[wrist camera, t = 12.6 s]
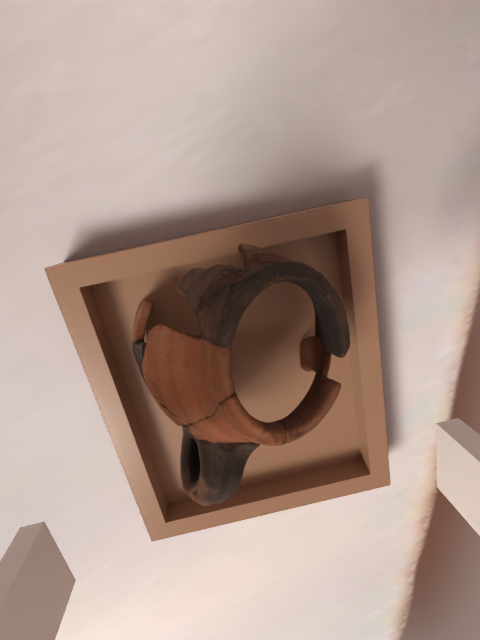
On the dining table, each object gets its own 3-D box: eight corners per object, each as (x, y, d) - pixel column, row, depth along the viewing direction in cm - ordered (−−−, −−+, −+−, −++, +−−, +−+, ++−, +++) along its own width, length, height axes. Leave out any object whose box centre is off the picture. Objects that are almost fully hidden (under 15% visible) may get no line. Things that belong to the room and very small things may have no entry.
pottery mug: (125, 241, 17) (197, 210, 10) (268, 270, 22) (379, 262, 15) (104, 471, 17) (159, 594, 10) (249, 445, 22) (350, 514, 16)
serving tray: (156, 514, 22) (151, 541, 20) (62, 262, 17) (43, 268, 15) (375, 462, 23) (390, 484, 21) (350, 199, 17) (368, 197, 15)
